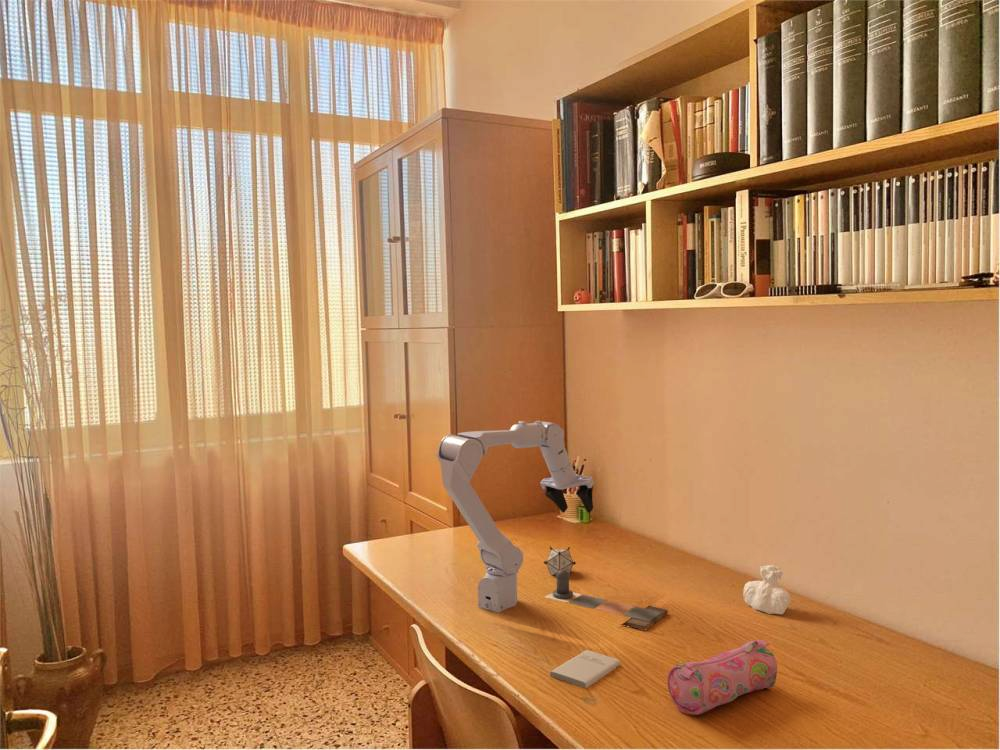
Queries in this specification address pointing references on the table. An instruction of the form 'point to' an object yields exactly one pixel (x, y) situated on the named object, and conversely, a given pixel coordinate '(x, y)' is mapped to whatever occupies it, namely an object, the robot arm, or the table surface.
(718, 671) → the pencil case
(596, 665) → the external hard drive
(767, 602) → the bust
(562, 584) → the pawn
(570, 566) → the game die
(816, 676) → the table surface
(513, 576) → the robot arm
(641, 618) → the board
